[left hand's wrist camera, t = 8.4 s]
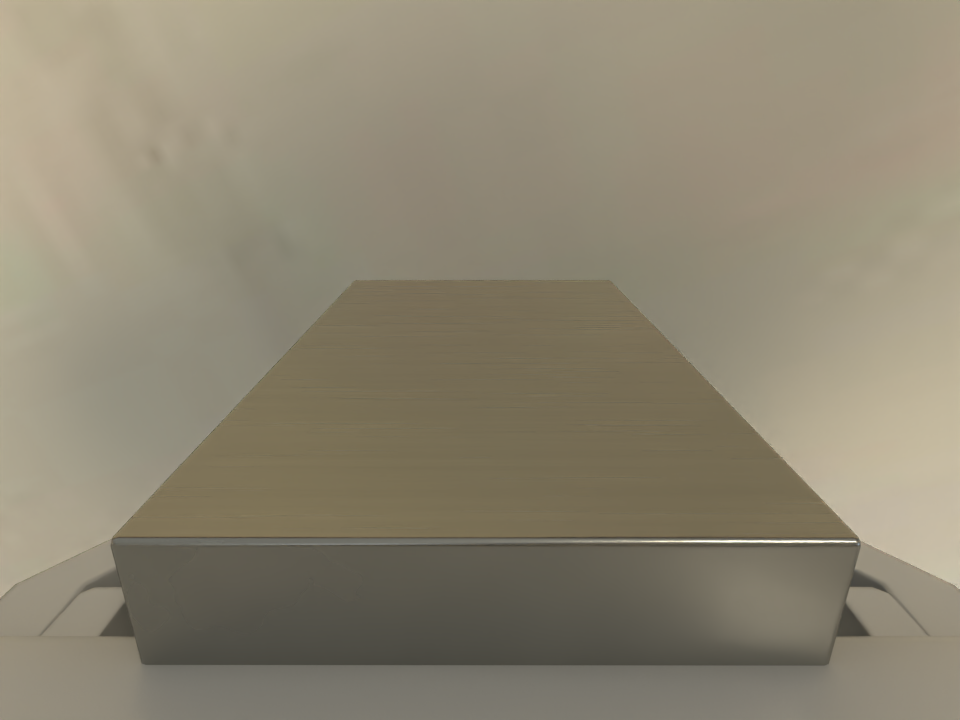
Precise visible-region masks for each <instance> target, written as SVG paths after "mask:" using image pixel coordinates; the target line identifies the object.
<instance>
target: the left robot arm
mask: <svg viewBox="0 0 960 720" xmlns="http://www.w3.org/2000/svg"><path fill="white" fill-rule="evenodd" d="M111 540H112V539H110V540H108V541H106V542H104V543H102V544H100V545H98V546H95V547H93V548H91V549H89V550H87V551H85V552H83V553H81V554H79V555H76V556H74V557H72V558H70V559H68V560H66V561H64V562H62V563H60V564H57V565H55V566H53V567H51V568H49V569H47V570H45V571H43V572H41V573H38V574H36V575H34V576H32V577H30V578H28V579H26V580H24V581H22V582H19V583H17V584H15V585H14V586H13V587H12V588H11V589H10V590H9V591H8V592H7V593H6V594H5V595H4V596H3V597H1V598H0V720H960V590H959V589H958V588H957V587H956V586H955V585H953V584H950V583H948V582H946V581H944V580H942V579H940V578H938V577H936V576H933V575H931V574H929V573H927V572H925V571H923V570H921V569H919V568H916V567H914V566H912V565H910V564H908V563H906V562H904V561H902V560H899V559H897V558H895V557H893V556H891V555H889V554H887V553H885V552H882V551H880V550H878V549H876V548H874V547H872V546H870V545H868V544H865V543H863V542H861V541H860V544H861V548H860V551H859V555H858V559H857V562H856V566H855V570H854V573H853V577H852V581H851V584H850V588H849V592H848V595H847V599H846V603H845V606H844V610H843V614H842V617H841V621H840V625H839V628H838V632H837V636H836V639H835V643H834V647H833V650H832V654H831V658H830V661H829V664H827V665H825V666H692V665H145V664H142V663H141V659H140V655H139V652H138V648H137V644H136V640H135V637H134V633H133V629H132V625H131V622H130V618H129V614H128V610H127V607H126V603H125V599H124V595H123V591H122V588H121V584H120V580H119V576H118V573H117V569H116V565H115V561H114V558H113V554H112V550H111Z"/></svg>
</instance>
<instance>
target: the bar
mask: <svg viewBox="0 0 960 720" xmlns="http://www.w3.org/2000/svg"><path fill="white" fill-rule="evenodd" d="M860 548H861V544H860V540H859V538H858V536H857V535H856V534H855V533H854V532H853V531H852V530H851V529H850V528H849V527H848V526H847V525H846V524H845V523H844V522H843V521H842V520H841V519H840V518H839V517H838V516H837V515H836V514H835V513H834V512H833V511H832V509H831V508H830V507H829V506H828V505H827V504H826V503H825V502H824V501H823V500H822V499H821V498H820V497H819V496H818V495H817V494H816V493H815V492H814V491H813V490H812V489H811V488H810V487H809V486H808V485H807V484H806V483H805V482H804V481H803V479H802V478H801V477H800V476H799V475H798V474H797V473H796V472H795V471H794V470H793V469H792V468H791V467H790V466H789V465H788V464H787V463H786V462H785V461H784V460H783V459H782V458H781V457H780V456H779V455H778V454H777V453H776V452H775V451H774V449H773V448H772V447H771V446H770V445H769V444H768V443H767V442H766V441H765V440H764V439H763V438H762V437H761V436H760V435H759V434H758V433H757V432H756V431H755V430H754V429H753V428H752V427H751V426H750V425H749V424H748V423H747V422H746V421H745V419H744V418H743V417H742V416H741V415H740V414H739V413H738V412H737V411H736V410H735V409H734V408H733V407H732V406H731V405H730V404H729V403H728V402H727V401H726V400H725V399H724V398H723V397H722V396H721V395H720V394H719V393H718V392H717V391H716V389H715V388H714V387H713V386H712V385H711V384H710V383H709V382H708V381H707V380H706V379H705V378H704V377H703V376H702V375H701V374H700V373H699V372H698V371H697V370H696V369H695V368H694V367H693V366H692V365H691V364H690V363H689V362H688V361H687V359H686V358H685V357H684V356H683V355H682V354H681V353H680V352H679V351H678V350H677V349H676V348H675V347H674V346H673V345H672V344H671V343H670V342H669V341H668V340H667V339H666V338H665V337H664V336H663V335H662V334H661V333H660V332H659V331H658V329H657V328H656V327H655V326H654V325H653V324H652V323H651V322H650V321H649V320H648V319H647V318H646V317H645V316H644V315H643V314H642V313H641V312H640V311H639V310H638V309H637V308H636V307H635V306H634V305H633V304H632V303H631V302H630V301H629V299H628V298H627V297H626V296H625V295H624V294H623V293H622V292H621V291H620V290H619V289H618V288H617V287H616V286H615V285H614V284H613V283H612V282H611V281H609V280H356V281H354V282H353V283H352V284H351V285H350V286H349V287H348V288H347V289H346V290H345V291H344V292H343V293H342V294H341V296H340V297H339V298H338V299H337V300H336V301H335V302H334V303H333V304H332V305H331V306H330V307H329V308H328V309H327V310H326V311H325V313H324V314H323V315H322V316H321V317H320V318H319V319H318V320H317V321H316V322H315V323H314V324H313V325H312V326H311V327H310V328H309V329H308V331H307V332H306V333H305V334H304V335H303V336H302V337H301V338H300V339H299V340H298V341H297V342H296V343H295V344H294V345H293V346H292V348H291V349H290V350H289V351H288V352H287V353H286V354H285V355H284V356H283V357H282V358H281V359H280V360H279V361H278V362H277V363H276V364H275V366H274V367H273V368H272V369H271V370H270V371H269V372H268V373H267V374H266V375H265V376H264V377H263V378H262V379H261V380H260V381H259V383H258V384H257V385H256V386H255V387H254V388H253V389H252V390H251V391H250V392H249V393H248V394H247V395H246V396H245V397H244V398H243V400H242V401H241V402H240V403H239V404H238V405H237V406H236V407H235V408H234V409H233V410H232V411H231V412H230V413H229V414H228V415H227V416H226V418H225V419H224V420H223V421H222V422H221V423H220V424H219V425H218V426H217V427H216V428H215V429H214V430H213V431H212V432H211V433H210V435H209V436H208V437H207V438H206V439H205V440H204V441H203V442H202V443H201V444H200V445H199V446H198V447H197V448H196V449H195V450H194V451H193V453H192V454H191V455H190V456H189V457H188V458H187V459H186V460H185V461H184V462H183V463H182V464H181V465H180V466H179V467H178V468H177V470H176V471H175V472H174V473H173V474H172V475H171V476H170V477H169V478H168V479H167V480H166V481H165V482H164V483H163V484H162V485H161V487H160V488H159V489H158V490H157V491H156V492H155V493H154V494H153V495H152V496H151V497H150V498H149V499H148V500H147V501H146V502H145V503H144V505H143V506H142V507H141V508H140V509H139V510H138V511H137V512H136V513H135V514H134V515H133V516H132V517H131V518H130V519H129V520H128V522H127V523H126V524H125V525H124V526H123V527H122V528H121V529H120V530H119V531H118V532H117V533H116V534H115V535H114V536H113V538H112V540H111V550H112V554H113V558H114V561H115V565H116V569H117V573H118V576H119V580H120V584H121V588H122V591H123V595H124V599H125V603H126V607H127V610H128V614H129V618H130V622H131V625H132V629H133V633H134V637H135V640H136V644H137V648H138V652H139V655H140V659H141V663H142V664H145V665H692V666H825V665H827V664H829V661H830V658H831V654H832V650H833V647H834V643H835V639H836V636H837V632H838V628H839V625H840V621H841V617H842V614H843V610H844V606H845V603H846V599H847V595H848V592H849V588H850V584H851V581H852V577H853V573H854V570H855V566H856V562H857V559H858V555H859V551H860Z"/></svg>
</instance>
